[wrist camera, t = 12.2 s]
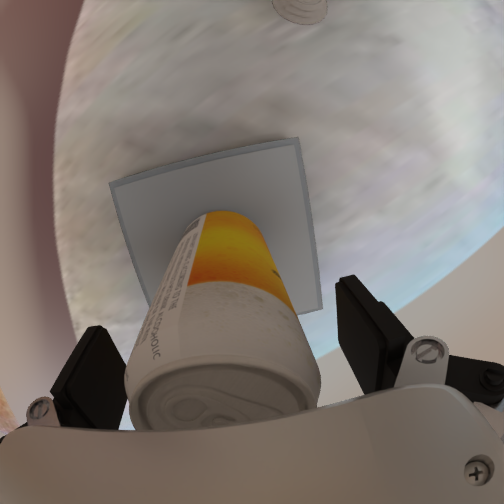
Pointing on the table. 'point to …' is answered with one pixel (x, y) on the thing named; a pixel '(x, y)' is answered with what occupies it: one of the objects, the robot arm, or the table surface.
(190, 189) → the plinth
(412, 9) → the table surface
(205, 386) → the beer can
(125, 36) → the table surface
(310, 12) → the chalice
